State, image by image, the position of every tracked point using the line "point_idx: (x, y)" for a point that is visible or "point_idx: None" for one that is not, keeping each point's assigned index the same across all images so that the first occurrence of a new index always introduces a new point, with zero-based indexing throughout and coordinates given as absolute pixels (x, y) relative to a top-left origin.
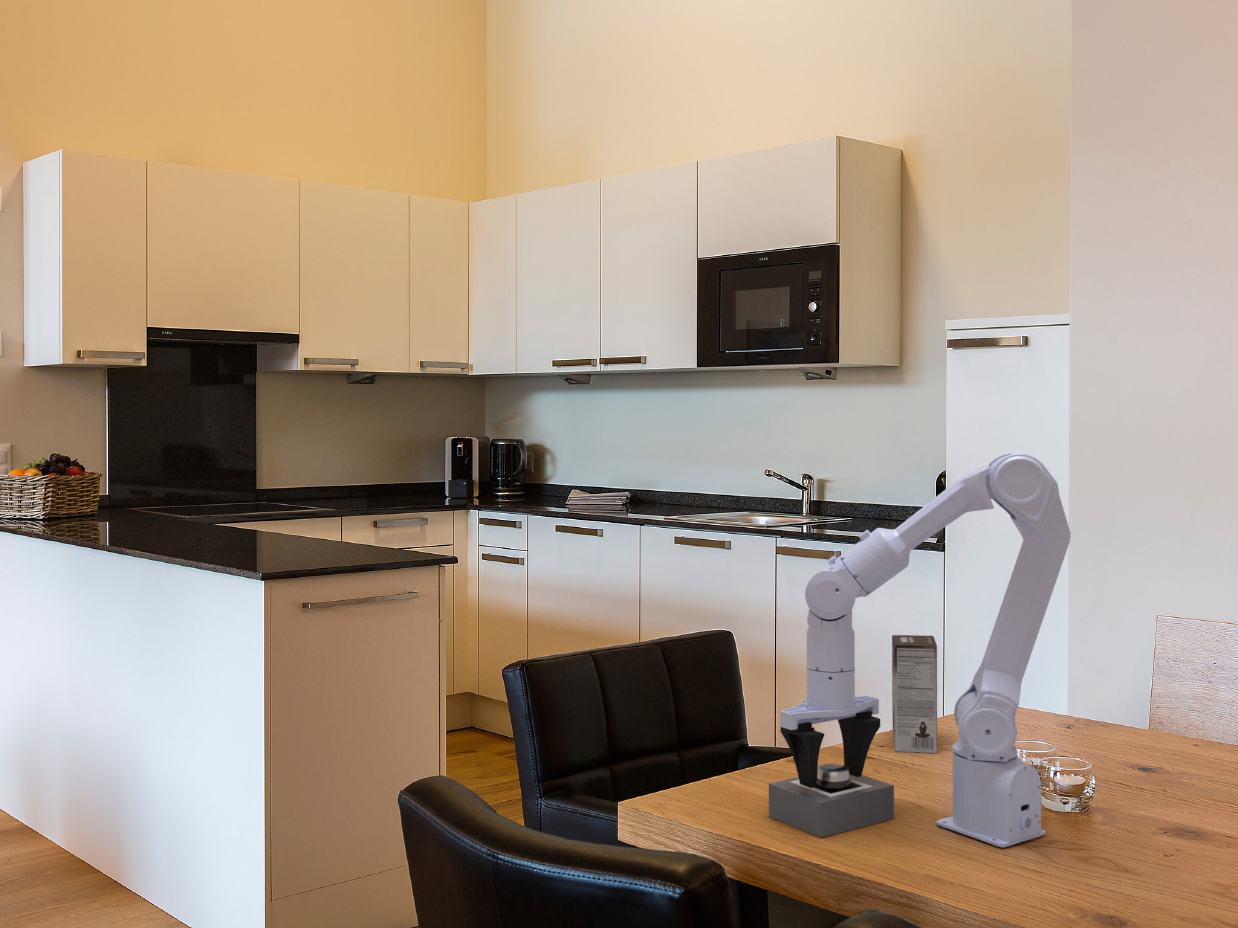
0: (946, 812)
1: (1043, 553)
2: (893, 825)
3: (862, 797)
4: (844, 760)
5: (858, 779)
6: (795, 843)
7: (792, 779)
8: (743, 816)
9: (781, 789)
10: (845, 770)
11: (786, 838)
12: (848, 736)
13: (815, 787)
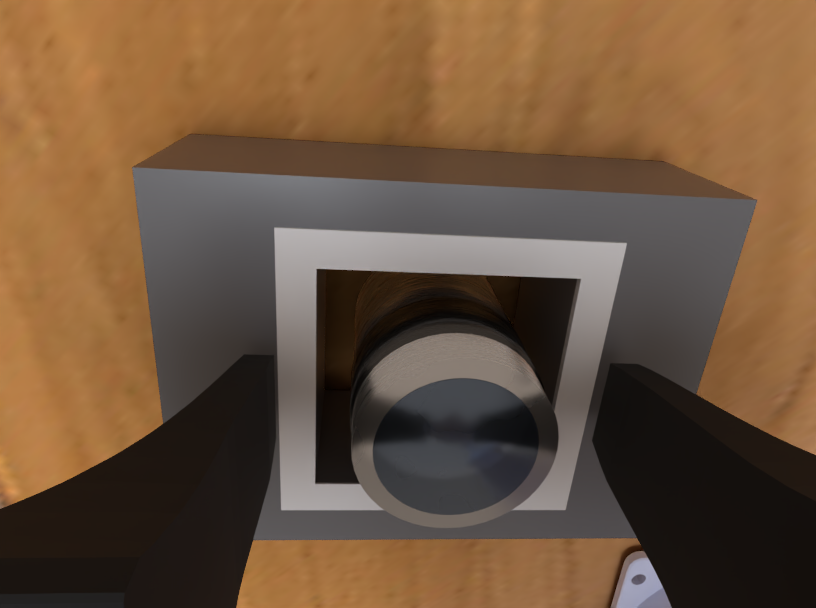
0: None
1: None
2: None
3: None
4: (647, 390)
5: None
6: (89, 425)
7: (330, 195)
8: (70, 46)
9: (148, 283)
10: (480, 508)
11: (89, 374)
12: (742, 540)
13: (376, 327)
